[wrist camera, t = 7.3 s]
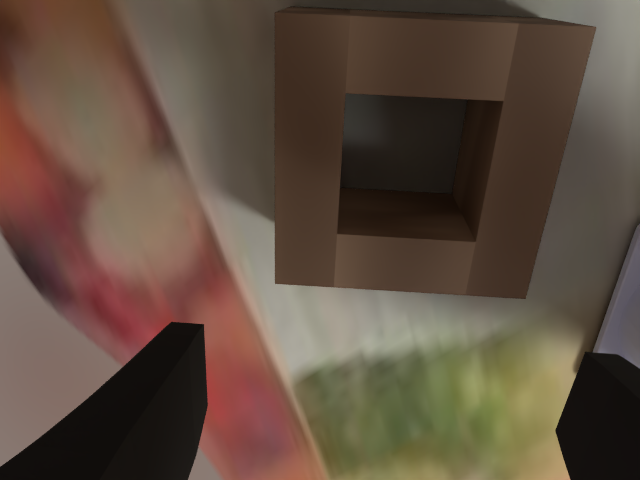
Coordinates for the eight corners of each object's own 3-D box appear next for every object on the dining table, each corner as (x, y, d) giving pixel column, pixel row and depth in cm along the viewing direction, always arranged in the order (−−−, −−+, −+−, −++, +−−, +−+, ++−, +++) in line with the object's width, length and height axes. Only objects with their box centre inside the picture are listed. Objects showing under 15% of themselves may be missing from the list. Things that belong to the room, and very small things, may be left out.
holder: (541, 17, 16) (596, 27, 13) (493, 242, 20) (525, 298, 16) (291, 6, 16) (274, 12, 13) (288, 230, 20) (275, 283, 16)
